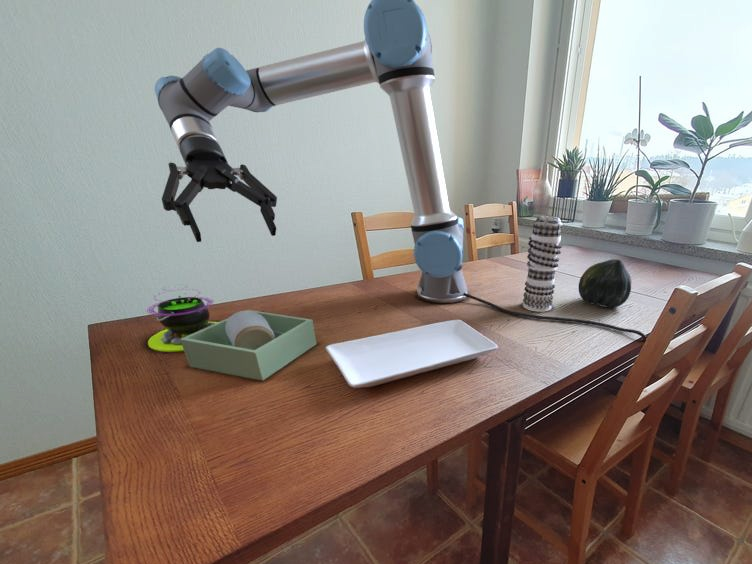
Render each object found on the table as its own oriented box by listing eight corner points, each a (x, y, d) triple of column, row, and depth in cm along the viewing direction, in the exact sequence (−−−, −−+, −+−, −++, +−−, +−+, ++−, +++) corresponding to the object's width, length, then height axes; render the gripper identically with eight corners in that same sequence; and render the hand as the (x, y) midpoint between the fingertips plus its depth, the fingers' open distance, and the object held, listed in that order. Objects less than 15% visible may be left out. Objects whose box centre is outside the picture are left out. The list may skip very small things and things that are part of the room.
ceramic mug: (239, 365, 71) (229, 327, 67) (230, 348, 76) (220, 313, 72) (297, 351, 77) (291, 316, 73) (285, 337, 82) (279, 304, 79)
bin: (316, 344, 82) (312, 319, 79) (262, 380, 68) (255, 352, 65) (253, 333, 85) (247, 309, 82) (189, 366, 71) (179, 339, 68)
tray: (500, 360, 80) (501, 345, 78) (352, 402, 63) (350, 385, 62) (459, 331, 92) (459, 318, 90) (326, 360, 76) (323, 345, 74)
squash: (574, 276, 121) (589, 247, 107) (619, 280, 122) (640, 252, 107) (574, 315, 117) (589, 290, 102) (621, 319, 117) (643, 296, 103)
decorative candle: (514, 305, 110) (523, 215, 98) (535, 299, 116) (546, 213, 104) (538, 314, 104) (551, 220, 93) (558, 307, 110) (573, 218, 98)
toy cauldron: (167, 324, 86) (150, 277, 81) (240, 321, 90) (227, 276, 85) (132, 354, 74) (109, 301, 68) (218, 349, 77) (202, 298, 72)
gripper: (263, 164, 89) (298, 239, 87) (126, 160, 74) (164, 252, 71) (265, 138, 83) (303, 219, 81) (117, 128, 68) (158, 227, 66)
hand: (238, 234), depth 76 cm, fingers open, 13 cm apart
